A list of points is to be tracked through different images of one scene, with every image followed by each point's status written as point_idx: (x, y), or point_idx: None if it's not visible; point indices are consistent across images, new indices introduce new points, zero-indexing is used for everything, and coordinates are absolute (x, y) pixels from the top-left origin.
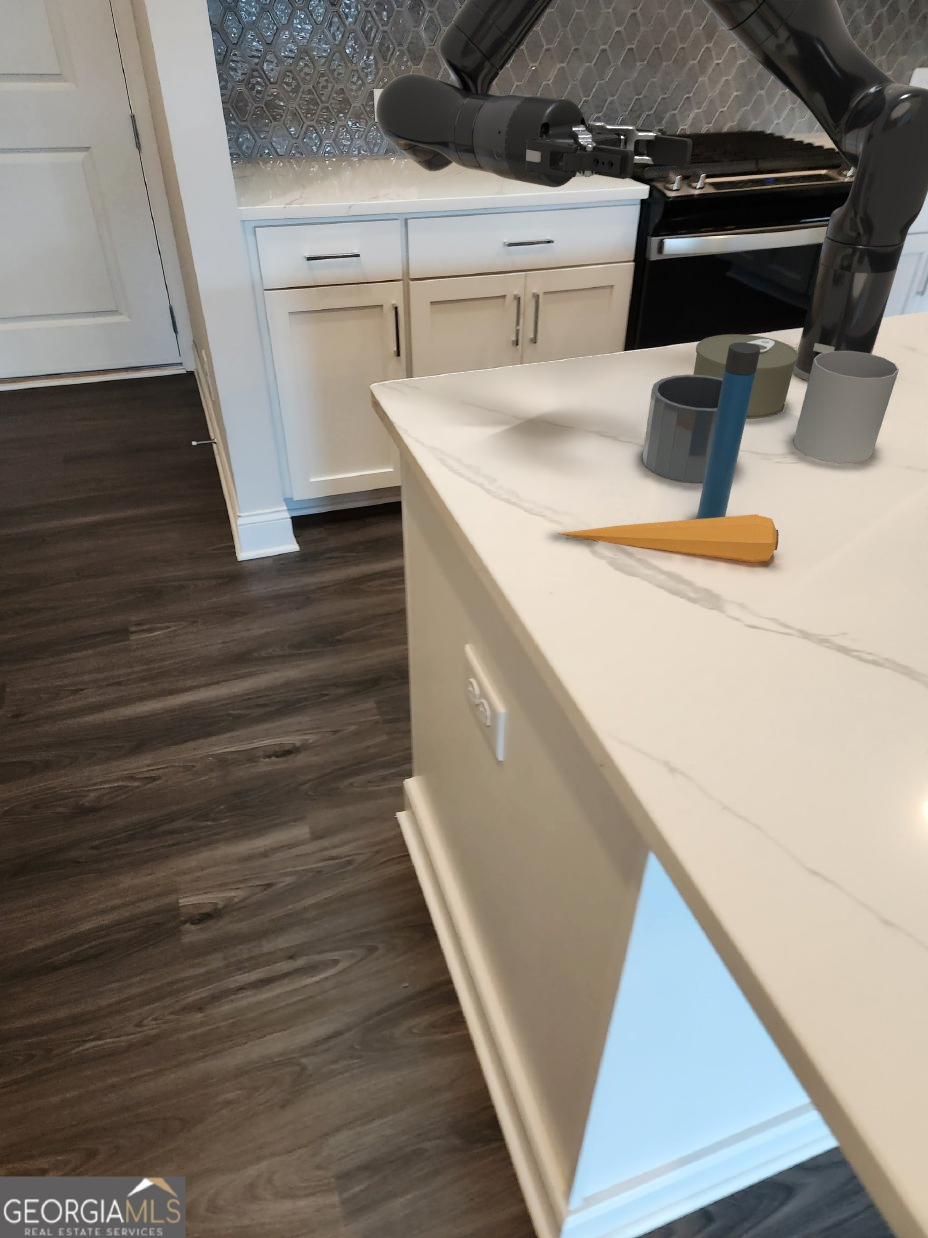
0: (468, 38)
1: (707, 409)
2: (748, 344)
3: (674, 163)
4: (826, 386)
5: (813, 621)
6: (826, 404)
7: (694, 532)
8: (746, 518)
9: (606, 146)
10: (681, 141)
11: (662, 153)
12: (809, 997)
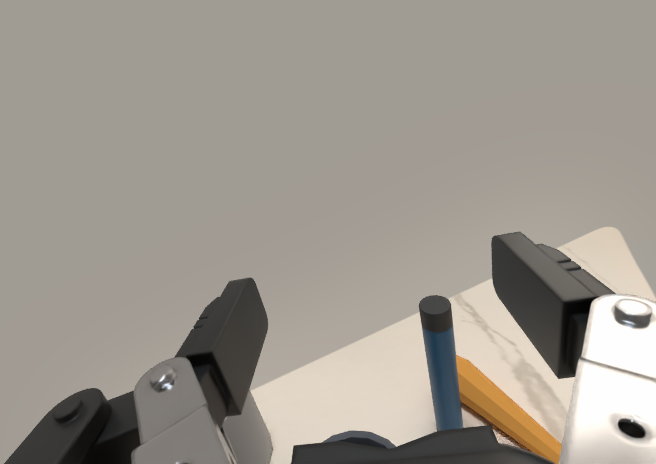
0: None
1: (391, 446)
2: (425, 306)
3: (261, 342)
4: (245, 410)
5: (470, 332)
6: (252, 418)
7: (504, 395)
8: (461, 369)
9: (551, 284)
10: (248, 288)
11: (240, 362)
12: (614, 244)
